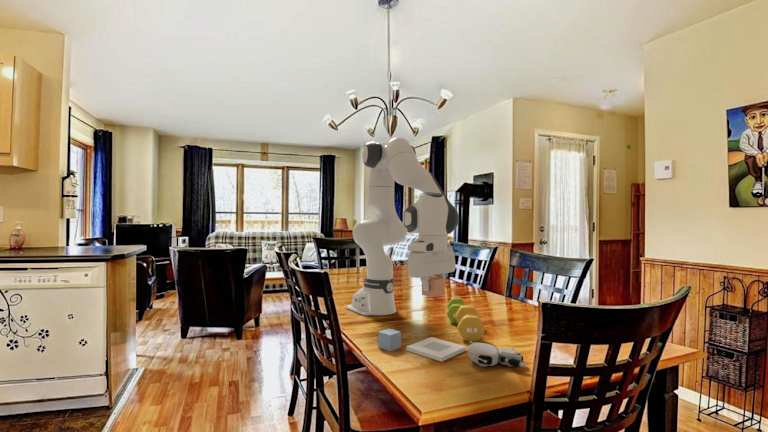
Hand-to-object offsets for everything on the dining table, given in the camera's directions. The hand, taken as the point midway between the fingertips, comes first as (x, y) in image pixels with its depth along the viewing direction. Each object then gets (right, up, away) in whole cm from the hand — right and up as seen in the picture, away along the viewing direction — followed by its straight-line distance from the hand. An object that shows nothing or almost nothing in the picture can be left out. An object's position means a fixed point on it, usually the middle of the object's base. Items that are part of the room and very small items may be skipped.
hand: (433, 289), depth 121 cm
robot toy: (+16, -19, -11) cm, 27 cm away
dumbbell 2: (+15, -19, +17) cm, 29 cm away
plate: (+1, -19, -1) cm, 19 cm away
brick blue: (-13, -18, +2) cm, 23 cm away
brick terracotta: (0, -2, 0) cm, 2 cm away
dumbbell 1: (+14, -19, +36) cm, 43 cm away
